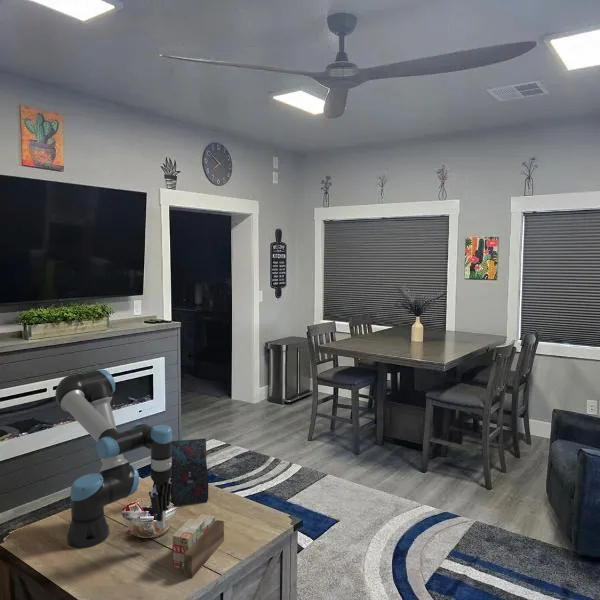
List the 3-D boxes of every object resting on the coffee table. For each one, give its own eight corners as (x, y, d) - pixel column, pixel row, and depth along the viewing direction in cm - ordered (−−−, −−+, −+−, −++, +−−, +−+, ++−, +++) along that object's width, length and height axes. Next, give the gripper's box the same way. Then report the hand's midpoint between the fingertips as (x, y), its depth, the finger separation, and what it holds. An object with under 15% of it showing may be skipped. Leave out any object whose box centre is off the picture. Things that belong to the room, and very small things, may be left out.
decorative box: (171, 498, 231) (169, 438, 229) (207, 494, 235) (206, 435, 233) (170, 506, 223) (169, 444, 221) (208, 502, 227) (207, 441, 225)
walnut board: (184, 576, 175) (184, 554, 174) (217, 539, 198) (216, 519, 197) (192, 578, 174) (191, 555, 173) (224, 540, 197) (223, 521, 196)
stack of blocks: (201, 536, 200) (201, 506, 199) (216, 539, 198) (215, 508, 197) (172, 568, 180) (172, 535, 179) (188, 571, 178) (188, 538, 177)
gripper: (160, 476, 181) (159, 538, 184) (179, 462, 194) (179, 520, 196) (142, 473, 184) (142, 534, 186) (162, 459, 196) (162, 516, 199)
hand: (161, 527), depth 191 cm, fingers closed
